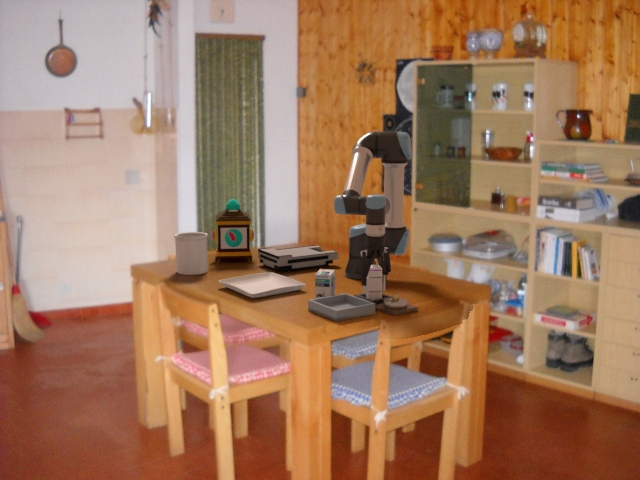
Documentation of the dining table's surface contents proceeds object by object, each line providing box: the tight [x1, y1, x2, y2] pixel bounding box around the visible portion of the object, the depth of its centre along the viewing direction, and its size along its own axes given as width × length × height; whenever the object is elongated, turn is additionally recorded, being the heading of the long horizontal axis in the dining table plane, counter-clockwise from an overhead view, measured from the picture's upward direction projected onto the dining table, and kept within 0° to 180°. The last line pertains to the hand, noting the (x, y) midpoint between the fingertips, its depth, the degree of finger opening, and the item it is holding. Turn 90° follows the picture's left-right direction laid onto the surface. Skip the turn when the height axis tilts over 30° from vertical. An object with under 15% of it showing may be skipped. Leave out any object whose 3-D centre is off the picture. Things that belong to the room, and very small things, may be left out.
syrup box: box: [366, 264, 383, 300], centre depth 304 cm, size 6×6×14 cm
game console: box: [257, 244, 339, 274], centre depth 368 cm, size 21×32×8 cm, turn 122°
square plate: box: [218, 271, 307, 299], centre depth 324 cm, size 27×27×4 cm
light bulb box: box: [314, 268, 336, 299], centre depth 310 cm, size 11×7×11 cm, turn 170°
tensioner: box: [353, 292, 419, 317], centre depth 299 cm, size 24×12×6 cm, turn 35°
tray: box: [307, 293, 376, 322], centre depth 291 cm, size 18×18×4 cm
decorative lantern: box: [212, 198, 255, 264], centre depth 378 cm, size 20×20×30 cm
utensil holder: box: [174, 231, 209, 276], centre depth 353 cm, size 15×15×18 cm
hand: (374, 291), depth 304 cm, fingers closed on syrup box, 8 cm apart
